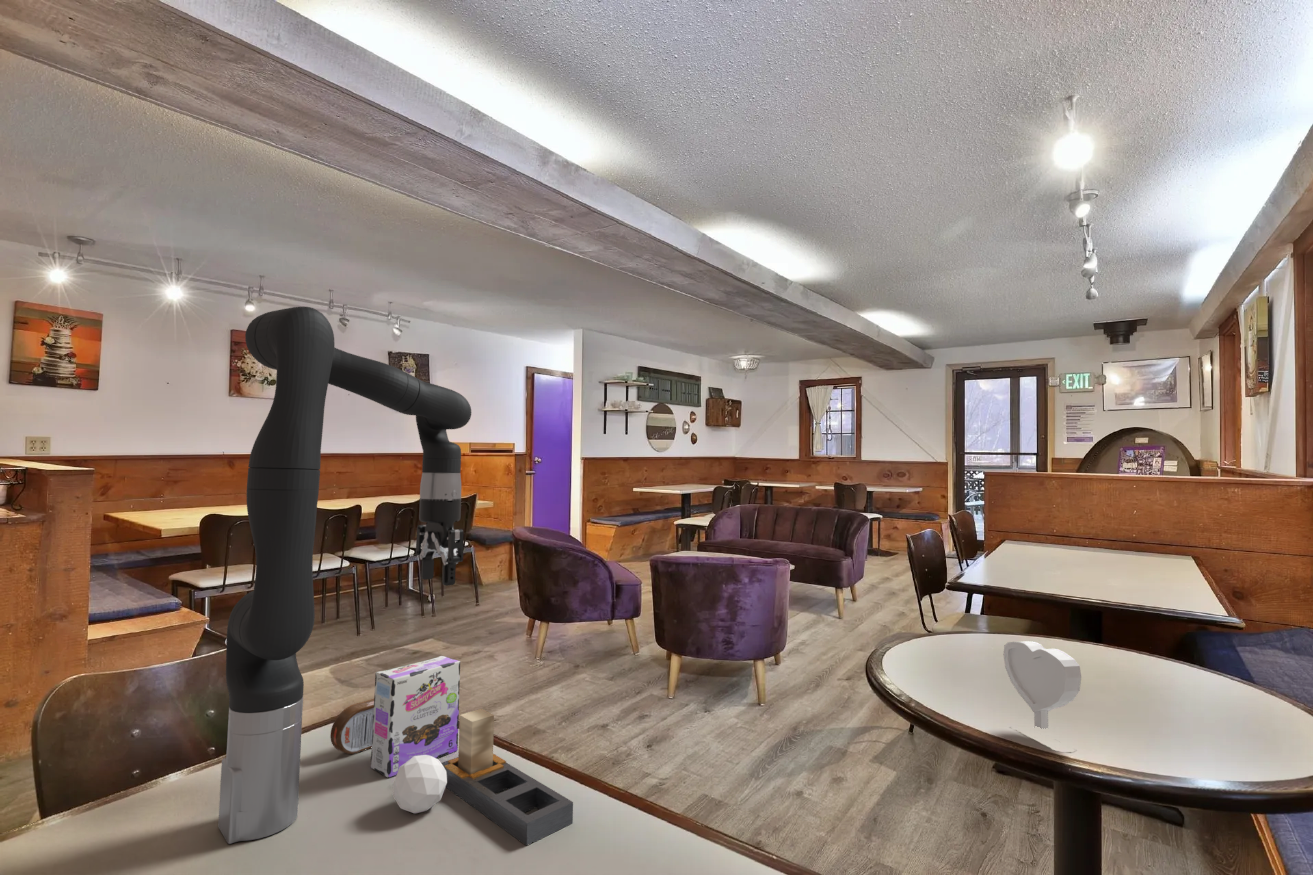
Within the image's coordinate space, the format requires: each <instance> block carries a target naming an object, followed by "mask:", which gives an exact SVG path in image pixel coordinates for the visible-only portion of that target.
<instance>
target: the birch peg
mask: <svg viewBox="0 0 1313 875" xmlns="http://www.w3.org/2000/svg"><path fill="white" fill-rule="evenodd" d="M494 727H495V715H494V714H493V713H491V712H488V711H486V710H485V709H483V708H479V709H476V710H471V711H468V712H465V713H461V714H459V721H458V756H457V757H458V768H459V769H461V770H462V771H464V772H465V773H467V774H468V775H470V774H473V773H475V772H478V771H481V770H484V769H486V768H489V767H492V766H493V754H494V730H495V728H494Z"/></svg>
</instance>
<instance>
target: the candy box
mask: <svg viewBox="0 0 1313 875" xmlns="http://www.w3.org/2000/svg"><path fill="white" fill-rule="evenodd" d="M374 675H375V676H374V678H375V679H374V698H373V699H374V713H373V714H374V715H373V732H372V734H373V735H372V748H371V753H370V755H371V756H370V769H373V771H376V772H377V771H378V772H377V773H379V774H381V775H383V777H386V778H388V777H389V778H392V777H394V776H396V775H397V773H398V770H399V768H400V766H402V765H403V764H404V763H406V762H407V761H408V760H410V759H411V758H412V757H414V756H419V755H429V756H432V757H434V758H436V759H439V758H442V757H445V756H447V755H450V754H452V753H454V752H457V751H459V720H460V712H459V710H460V684H461V683H460V682H461V681H460V679H461V660H457V659H454V658H451V657H448V656H444V655H439V656H437V657H434V658H431V659H427V660H422V661H418V662H414V663H410V664H406V665H402V666H398V667H394V668H390V669H387V670H379V671H375V674H374Z"/></svg>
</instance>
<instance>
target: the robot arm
mask: <svg viewBox="0 0 1313 875" xmlns="http://www.w3.org/2000/svg"><path fill="white" fill-rule="evenodd" d="M244 338H245V344H246V348H247V350H248V352H249V353H250V355H251V356H252V358H254V359H255V361H257V362H258V363H259V364H261V365H262V366H264V367H266V368H267V369H272V370H276V377H275V378H276V379H275V390H274V397H273V399H272V400H273V402H272V403H271V407H270V410H269V412H268V414H267V416H266V419H265V420H264V422H263V424H262V426H261V427H260V429H259V432H258V434H257V436H256V438H255V440H254V442H253V446H252V448H251V451H250V455H249V460H248V461H249V462H248V469H247V479H246V480H247V481H246V509H247V517H248V522H249V527H250V532H251V536H252V541H253V545H254V549H255V559H256V561H255V562H256V563H255V564H256V566H255V568H256V569H255V576H254V577H255V578H254V584H253V585H254V586H253V590H252V591H250V592H248V593H246V594H244V596H242V597H241V599H239V600H238V601H237V603H235V605H234V607H233V608H232V611H231V612H230V615H229V618H228V620H227V621H228V623H227V628H226V629H227V630H226V649H225V650H226V652H225V653H226V654H225V655H226V656H225V682H226V687H227V691H228V701H229V702H228V721H227V723H228V724H227V740H226V741H227V742H226V757H224V758H222V759H221V767H220V785H219V786H220V790H219V803H218V804H219V805H218V806H219V807H218V820H217V821H218V822H217V823H218V824H217V825H218V827H217V828H218V829H219V831H220V832H221V835H223V837H224V839H225V841H226V843H227V844H228V845H230V844H233V843H237V842H242V841H252V840H259V839H262V838H266V837H269V836H271V835H274V834H277V833H279V832H280V831H283V830H284V829H286V828H288V827H289V826H290V825H292V824H293V823H294V822H295V821H296V820H297V817H298V810H299V794H300V793H299V791H300V790H299V789H300V788H299V787H300V770H301V769H300V768H301V752H302V751H301V750H302V749H301V748H302V747H301V746H302V728H303V710H304V708H303V707H304V706H303V704H304V687H305V686H304V678H303V675H302V672H301V670H300V668H299V664H298V660H297V653H298V652H299V651H301V650H302V648H304V647H305V645H306V643H307V642H308V640H309V639H310V637H311V634H312V633H313V630H314V629H313V628H314V625H315V614H316V613H315V595H314V594H315V593H314V576H313V575H314V574H313V572H314V571H313V565H314V564H313V562H314V561H313V560H314V558H313V557H314V556H313V555H314V545H315V537H316V536H315V535H316V528H317V527H316V524H317V513H318V512H317V510H318V501H319V500H318V499H319V491H320V479H321V477H320V476H321V461H322V460H321V459H322V458H321V454H322V440H323V432H324V430H323V429H324V416H325V408H326V407H325V405H326V399H327V398H326V397H327V391H328V386H329V385H330V386H333V387H336V388H340V389H343V390H345V391H348V392H350V393H352V394H356V395H358V396H360V397H363V398H365V399H367V400H369V401H373V402H375V403H377V404H379V405H381V406H384V407H386V408H388V409H390V410H392V411H396V412H398V413H400V414H402V415H403V414H404V415H406V416H415V422H416V426H417V427H416V428H417V433H418V436H419V442H420V444H421V449H422V464H421V466H422V468H421V472H422V473H421V479H420V485H419V486H420V487H419V507H418V508H419V509H418V510H419V512H418V520H419V521H420V522H421V523H426V524H418V525H417V527H416V541H415V542H416V543H415V556H419V559H420V560H421V568H420V569H421V572H420V578H421V579H422V580H425V581H426V580H432V579H433V578H434V570H435V556H436V554H437V555H439V556H441V561H442V563H443V565H442V585H443V586H444V587H445V586H448V587H449V586H454V585H455V583H456V572H457V571H456V568H457V567H456V565H457V564H459V563H460V562H463V561H464V530H463V528H459V529H455V527H454V526H455V525H454V524H455V523H456V522H459V521H461V514H462V513H461V512H462V511H461V509H462V478H461V476H462V475H461V474H462V473H461V471H462V470H461V468H462V467H461V466H462V451H461V450H462V448H461V447H460V445H459V444H458V443H455V442H452V441H450V440H449V437H448V432H447V430H457V429H461V428H463V427H464V426H466V425H467V424H468V423H469V422H470V420H471V417H472V407H471V404H470V402H469V401H468V399H467V398H466V397H465V396H463V395H462V394H461V393H459V392H457V391H455V390H454V389H450V388H447V387H444V386H440V385H438V384H434V383H429V382H426V381H423V380H421V379H419V378H418V377H415V376H414V375H412V374H410V373H408V372H407V371H404V370H402V369H400V368H398V367H395V366H393V365H391V364H388V363H385V362H381V361H378V360H374V359H372V358H367V357H364V356H360V355H356V354H353V353H350V352H346V351H344V350H342V349H339V348H337V347H336V346H335V334H334V331H333V327H332V325H331V323H330V322H329V320H328V318H327V317H326V316H325V315H324V314H323V313H322V312H321V311H319V310H318V309H315V308H313V307H309V306H294V307H288V308H282V309H276V310H272V311H267V312H264V313H262V314H260V315H258V316H256V317H255V318H254V319H252V320H251V321H250V323H249V324H248V326H247V328H246V330H245V334H244Z"/></svg>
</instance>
